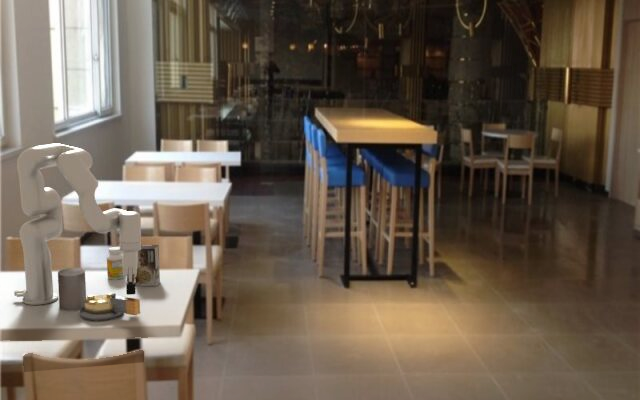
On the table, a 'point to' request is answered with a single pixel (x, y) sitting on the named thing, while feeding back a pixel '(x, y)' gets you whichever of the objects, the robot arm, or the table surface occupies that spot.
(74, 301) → the pillar candle
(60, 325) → the table surface
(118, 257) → the supplement bottle
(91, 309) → the gold disc lever
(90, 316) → the base plate
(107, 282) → the table surface
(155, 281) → the coffee box
